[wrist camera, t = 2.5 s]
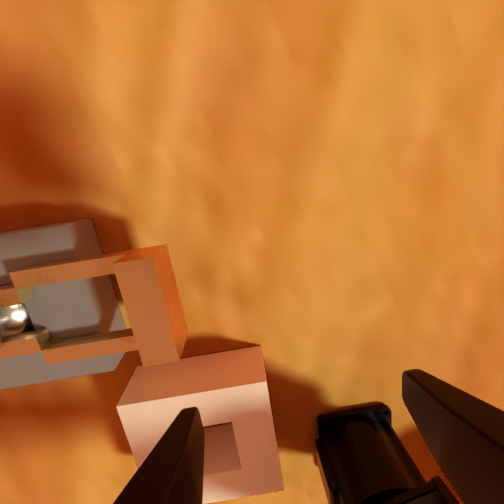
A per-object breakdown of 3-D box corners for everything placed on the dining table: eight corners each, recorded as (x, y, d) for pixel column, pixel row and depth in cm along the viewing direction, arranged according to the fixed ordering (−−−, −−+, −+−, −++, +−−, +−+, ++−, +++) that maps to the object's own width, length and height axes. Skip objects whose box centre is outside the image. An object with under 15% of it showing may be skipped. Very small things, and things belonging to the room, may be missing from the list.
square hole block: (260, 345, 22) (266, 381, 18) (276, 440, 24) (284, 490, 21) (137, 365, 22) (116, 406, 18) (166, 459, 24) (153, 512, 20)
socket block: (91, 217, 18) (64, 224, 16) (130, 344, 21) (114, 370, 18) (-87, 245, 18) (-147, 258, 15) (-24, 369, 21) (-66, 400, 18)
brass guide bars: (166, 244, 16) (152, 257, 13) (188, 333, 18) (179, 361, 15) (-64, 280, 16) (-126, 301, 13) (-21, 367, 17) (-68, 401, 15)
